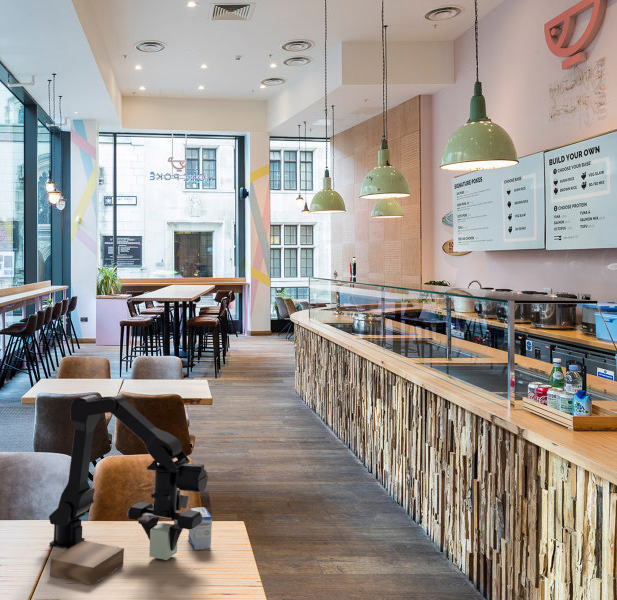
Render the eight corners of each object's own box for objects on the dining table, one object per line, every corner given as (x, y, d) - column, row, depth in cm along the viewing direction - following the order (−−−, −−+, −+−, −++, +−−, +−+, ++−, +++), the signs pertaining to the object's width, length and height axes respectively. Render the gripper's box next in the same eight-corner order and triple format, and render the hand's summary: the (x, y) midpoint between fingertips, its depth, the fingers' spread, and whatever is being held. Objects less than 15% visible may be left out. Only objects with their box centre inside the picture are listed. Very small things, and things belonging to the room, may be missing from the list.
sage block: (149, 556, 161) (150, 529, 160) (159, 549, 165) (161, 522, 165) (166, 559, 159) (167, 532, 159) (176, 552, 164) (177, 525, 164)
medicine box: (188, 539, 175) (189, 508, 175) (204, 537, 177) (205, 506, 177) (194, 550, 168) (195, 517, 168) (211, 548, 170) (212, 516, 169)
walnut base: (50, 575, 150) (50, 558, 150) (83, 555, 162) (83, 540, 161) (92, 584, 146) (93, 567, 146) (123, 564, 158) (123, 548, 158)
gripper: (213, 484, 167) (210, 542, 167) (151, 474, 172) (149, 531, 173) (192, 496, 156) (189, 559, 156) (127, 486, 162) (125, 546, 162)
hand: (163, 548), depth 162 cm, fingers closed on sage block, 5 cm apart
